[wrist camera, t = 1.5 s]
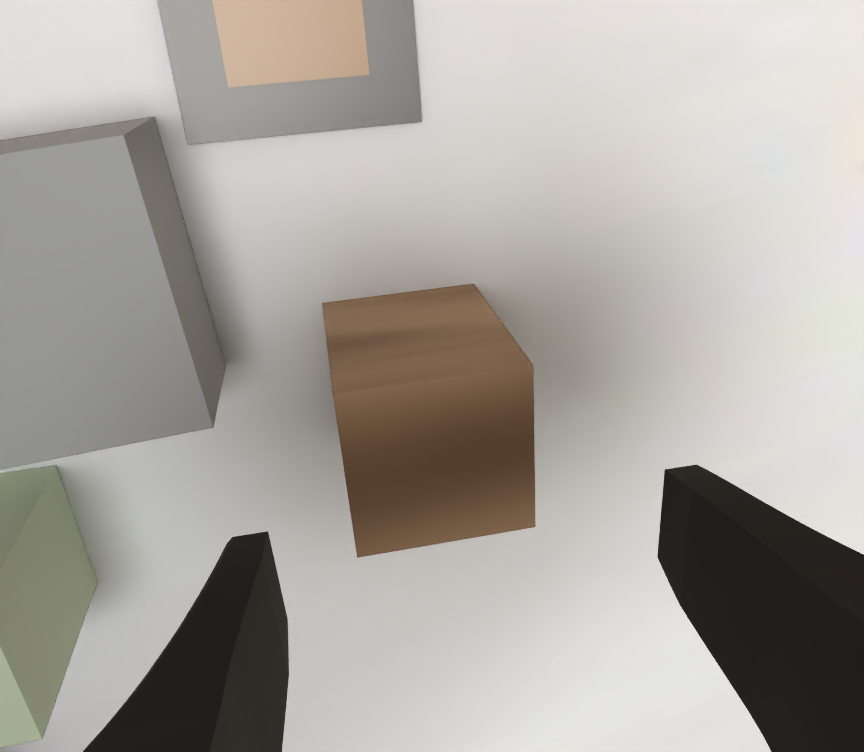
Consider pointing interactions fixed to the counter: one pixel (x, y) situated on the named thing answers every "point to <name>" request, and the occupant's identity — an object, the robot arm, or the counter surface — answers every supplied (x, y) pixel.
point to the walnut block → (431, 418)
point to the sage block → (37, 598)
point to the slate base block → (98, 297)
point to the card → (290, 65)
